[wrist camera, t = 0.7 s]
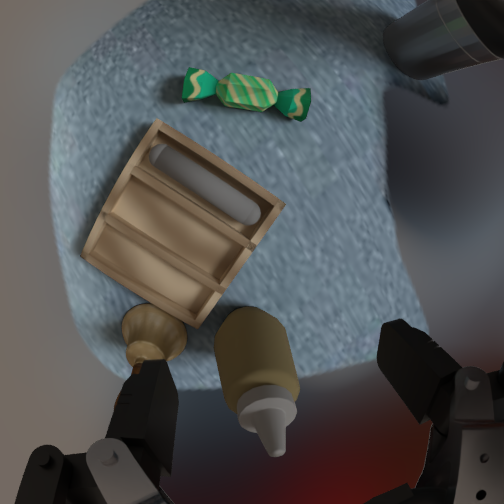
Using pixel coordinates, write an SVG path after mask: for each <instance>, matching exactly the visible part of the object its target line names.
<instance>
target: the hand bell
mask: <svg viewBox="0 0 504 504" xmlns="http://www.w3.org/2000/svg"><path fill="white" fill-rule="evenodd" d="M122 334H123V337H124V340H125V342H126V344H127V349H126V357H127V360H128V362H129V364H130V365H131V366H132V367H133V370H132V373H131V375H132V374H139V372H140V369H141V366H142V363H143V361H144V360H152V359H165V360H166V361H169V360H172V359H174V358H175V357H177V356H178V355H180V354H181V352H182V351H183V350H184V348H185V346H186V343H187V332H186V328H185V326H184V324H183V322H182V321H181V320H180V319H178V318H176V317H174V316H173V315H171V314H169V313H167V312H166V311H164V310H162V309H161V308H159V307H157V306H156V305H154V304H150V303H148V304H140V305H137V306H135V307H133V308H132V309H130V310H129V311H128V312H127V313H126V315H125V316H124V318H123V321H122ZM120 392H121V391H120ZM119 396H120V393H119V395H118V397H117V399H116V402H115V405H114V409H115V407H116V405H117V401H118V398H119Z"/></svg>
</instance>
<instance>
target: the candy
mask: <svg viewBox="0 0 504 504" xmlns="http://www.w3.org/2000/svg"><path fill="white" fill-rule="evenodd" d="M215 94H216V95H217V97H218V98H219V99H220V100H221V102H222V103H223V104H224V106H228V107H235V108H241V109H247V110H253V111H259V112H262V111H264V110H266V109H267V108H269V107H271V106H272V105H274V106H275V107H276V108H277V109H278V110H280V111H281V112H282V113H283V114H284V115H285V116H287V117H290V118H292V119H295V120H297V121H300V122H301V121H303V120H305V119H306V117H307V113H308V110H309V106H310V103H311V90H310V88H303V89H290V90H286V91H281V92H277V90H276V89H275V87H274V85H273V84H272V82H271V81H270V80H269V79H264V78H259V77H253V76H247V75H241V74H235V73H230V74H229V75H227V76H226V77H224V78H223V79H221V80H220V81H218V80H217V79H216V78H214V77H213V76H212V75H211V74H209V73H208V72H207V71H204V70H199V69H195V68H190V67H189V68H188V71H187V74H186V76H185V79H184V85H183V92H182V100H183V102H184V103H185V102H190V101H195V100H200V99H204V98H206V97H209V96H212V95H215Z"/></svg>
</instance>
